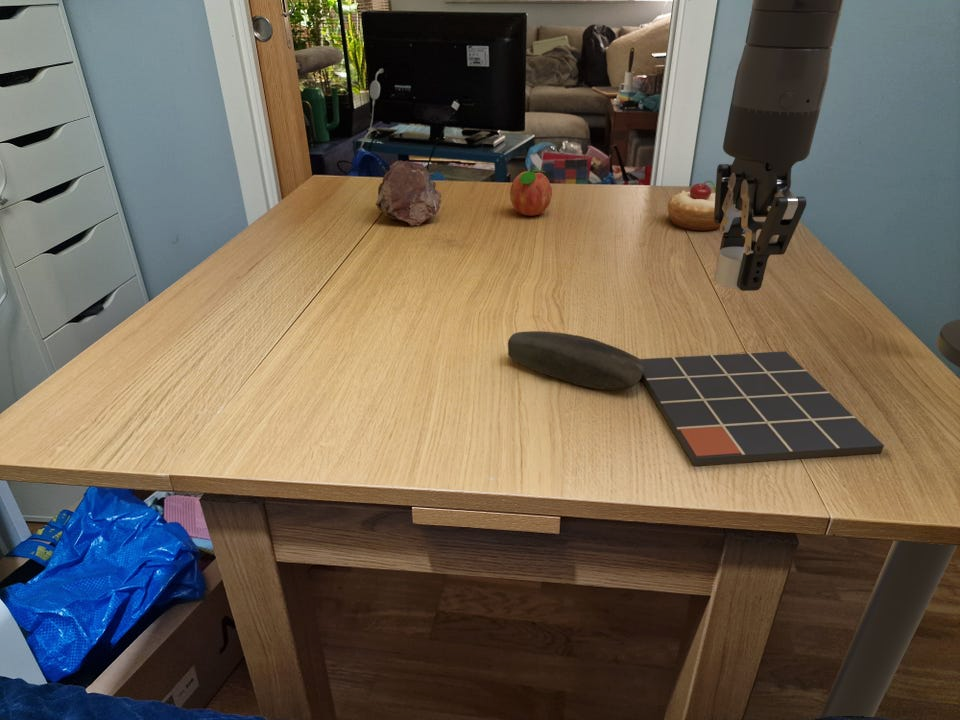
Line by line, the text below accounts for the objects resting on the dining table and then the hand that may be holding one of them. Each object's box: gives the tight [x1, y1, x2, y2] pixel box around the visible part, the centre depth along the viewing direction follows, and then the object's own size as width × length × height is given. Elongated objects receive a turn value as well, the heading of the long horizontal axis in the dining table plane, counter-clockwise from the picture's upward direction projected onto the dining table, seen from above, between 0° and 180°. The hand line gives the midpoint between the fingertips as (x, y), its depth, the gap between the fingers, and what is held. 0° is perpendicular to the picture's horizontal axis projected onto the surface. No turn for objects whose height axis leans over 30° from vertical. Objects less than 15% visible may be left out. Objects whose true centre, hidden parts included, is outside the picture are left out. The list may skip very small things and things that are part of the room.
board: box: [640, 350, 885, 467], centre depth 75 cm, size 20×20×1 cm
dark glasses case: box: [507, 330, 645, 391], centre depth 81 cm, size 17×6×4 cm, turn 66°
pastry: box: [667, 180, 721, 232], centre depth 131 cm, size 12×12×9 cm
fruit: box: [509, 164, 553, 216], centre depth 136 cm, size 9×10×10 cm
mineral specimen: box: [374, 160, 442, 227], centre depth 134 cm, size 12×13×15 cm
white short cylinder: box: [713, 246, 745, 291], centre depth 67 cm, size 4×4×3 cm
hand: (737, 278), depth 67 cm, fingers closed on white short cylinder, 4 cm apart
